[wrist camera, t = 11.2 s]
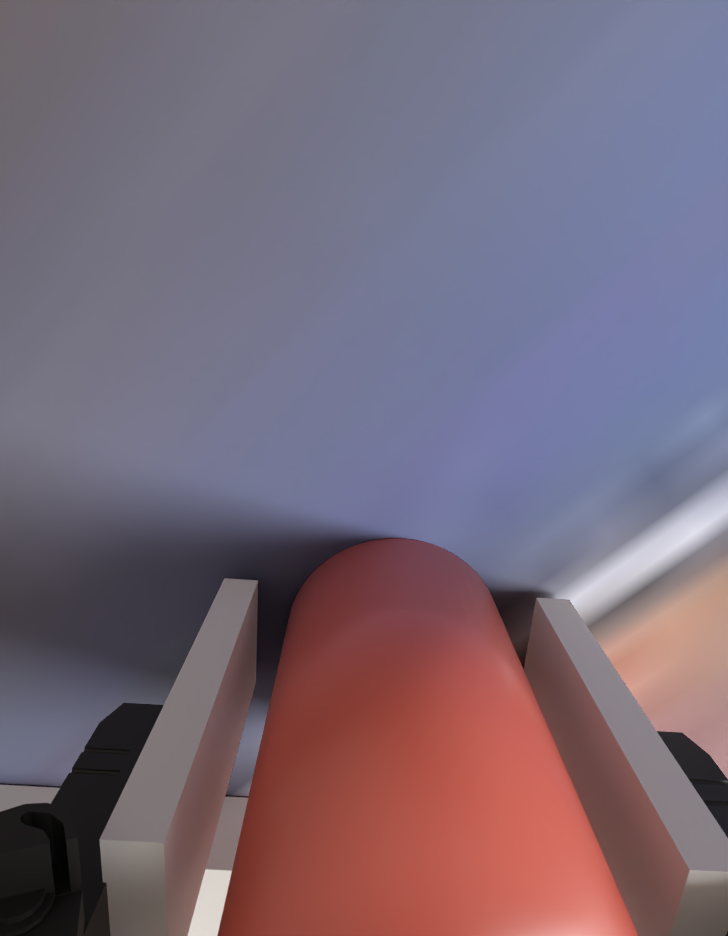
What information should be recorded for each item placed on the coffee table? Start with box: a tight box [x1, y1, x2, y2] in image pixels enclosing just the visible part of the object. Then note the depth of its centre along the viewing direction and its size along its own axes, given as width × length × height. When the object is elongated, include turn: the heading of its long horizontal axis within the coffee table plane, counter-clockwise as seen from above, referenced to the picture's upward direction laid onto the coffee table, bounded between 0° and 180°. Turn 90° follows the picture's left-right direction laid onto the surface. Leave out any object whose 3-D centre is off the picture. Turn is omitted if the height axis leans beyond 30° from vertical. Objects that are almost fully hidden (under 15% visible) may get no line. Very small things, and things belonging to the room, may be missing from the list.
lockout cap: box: [217, 538, 638, 936], centre depth 9 cm, size 5×5×9 cm
